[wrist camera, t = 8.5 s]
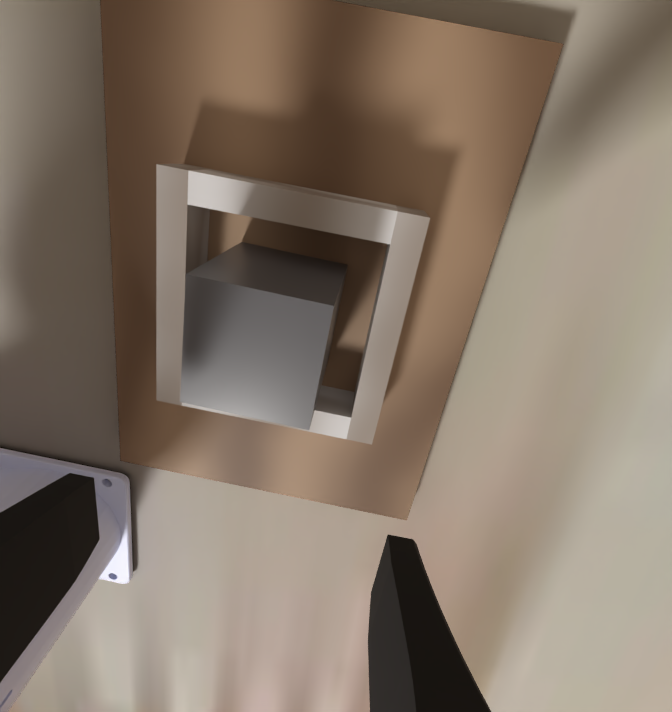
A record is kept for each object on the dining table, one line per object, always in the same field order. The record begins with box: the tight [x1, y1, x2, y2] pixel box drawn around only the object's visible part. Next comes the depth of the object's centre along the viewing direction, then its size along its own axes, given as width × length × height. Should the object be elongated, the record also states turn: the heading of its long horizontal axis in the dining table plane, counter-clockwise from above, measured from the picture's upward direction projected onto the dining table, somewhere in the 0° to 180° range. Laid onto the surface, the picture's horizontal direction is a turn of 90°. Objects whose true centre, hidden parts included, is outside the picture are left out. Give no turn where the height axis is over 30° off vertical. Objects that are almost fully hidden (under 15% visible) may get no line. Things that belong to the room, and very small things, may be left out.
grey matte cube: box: [180, 242, 348, 430], centre depth 15 cm, size 4×4×5 cm
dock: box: [100, 0, 563, 520], centre depth 16 cm, size 14×19×3 cm
